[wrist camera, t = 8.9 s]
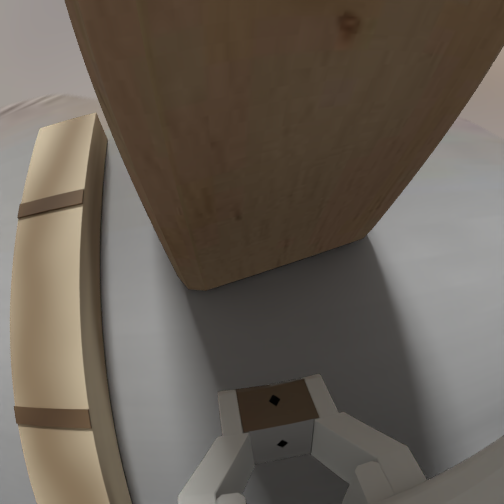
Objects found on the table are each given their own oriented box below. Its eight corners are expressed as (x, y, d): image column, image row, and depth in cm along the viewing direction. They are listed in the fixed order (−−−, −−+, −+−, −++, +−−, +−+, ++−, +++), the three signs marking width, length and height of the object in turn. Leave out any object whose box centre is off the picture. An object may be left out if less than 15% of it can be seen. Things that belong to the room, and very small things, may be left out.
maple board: (107, 139, 18) (95, 111, 16) (133, 507, 11) (116, 527, 8) (54, 152, 18) (39, 127, 16) (63, 500, 10) (39, 515, 8)
